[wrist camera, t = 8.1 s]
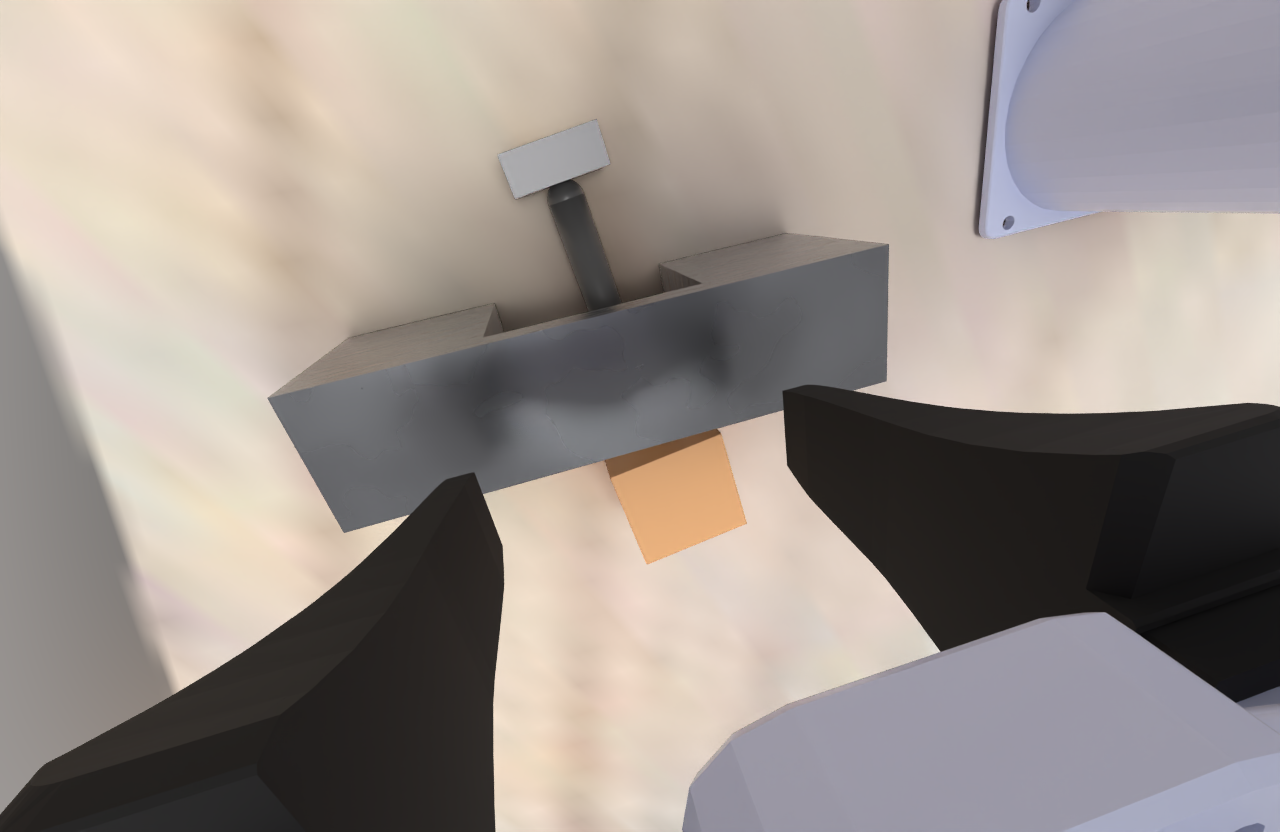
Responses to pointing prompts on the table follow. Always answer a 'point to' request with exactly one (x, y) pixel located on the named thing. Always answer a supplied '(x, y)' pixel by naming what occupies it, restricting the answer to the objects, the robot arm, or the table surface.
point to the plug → (663, 474)
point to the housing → (585, 375)
